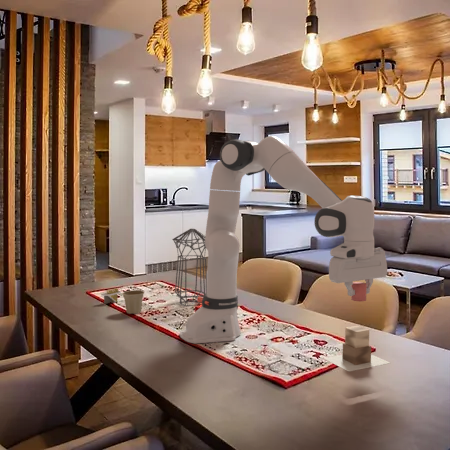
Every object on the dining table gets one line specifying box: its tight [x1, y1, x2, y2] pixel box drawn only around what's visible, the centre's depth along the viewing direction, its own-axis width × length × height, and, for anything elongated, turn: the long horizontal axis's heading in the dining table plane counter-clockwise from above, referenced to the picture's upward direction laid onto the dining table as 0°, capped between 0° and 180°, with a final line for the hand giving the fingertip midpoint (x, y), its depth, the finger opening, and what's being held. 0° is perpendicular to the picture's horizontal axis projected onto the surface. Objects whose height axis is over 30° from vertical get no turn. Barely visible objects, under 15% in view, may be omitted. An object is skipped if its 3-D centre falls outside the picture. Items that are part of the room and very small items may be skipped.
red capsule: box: [350, 281, 367, 302], centre depth 149 cm, size 4×4×5 cm
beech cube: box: [344, 325, 370, 348], centre depth 150 cm, size 5×5×5 cm
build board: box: [323, 353, 391, 373], centre depth 151 cm, size 16×12×1 cm
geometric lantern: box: [172, 228, 207, 307], centre depth 226 cm, size 16×16×35 cm
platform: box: [100, 288, 122, 305], centre depth 229 cm, size 12×18×7 cm, turn 144°
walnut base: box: [341, 342, 372, 365], centre depth 150 cm, size 6×6×5 cm
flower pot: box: [121, 289, 145, 315], centre depth 211 cm, size 9×9×9 cm
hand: (358, 294), depth 150 cm, fingers closed on red capsule, 4 cm apart
